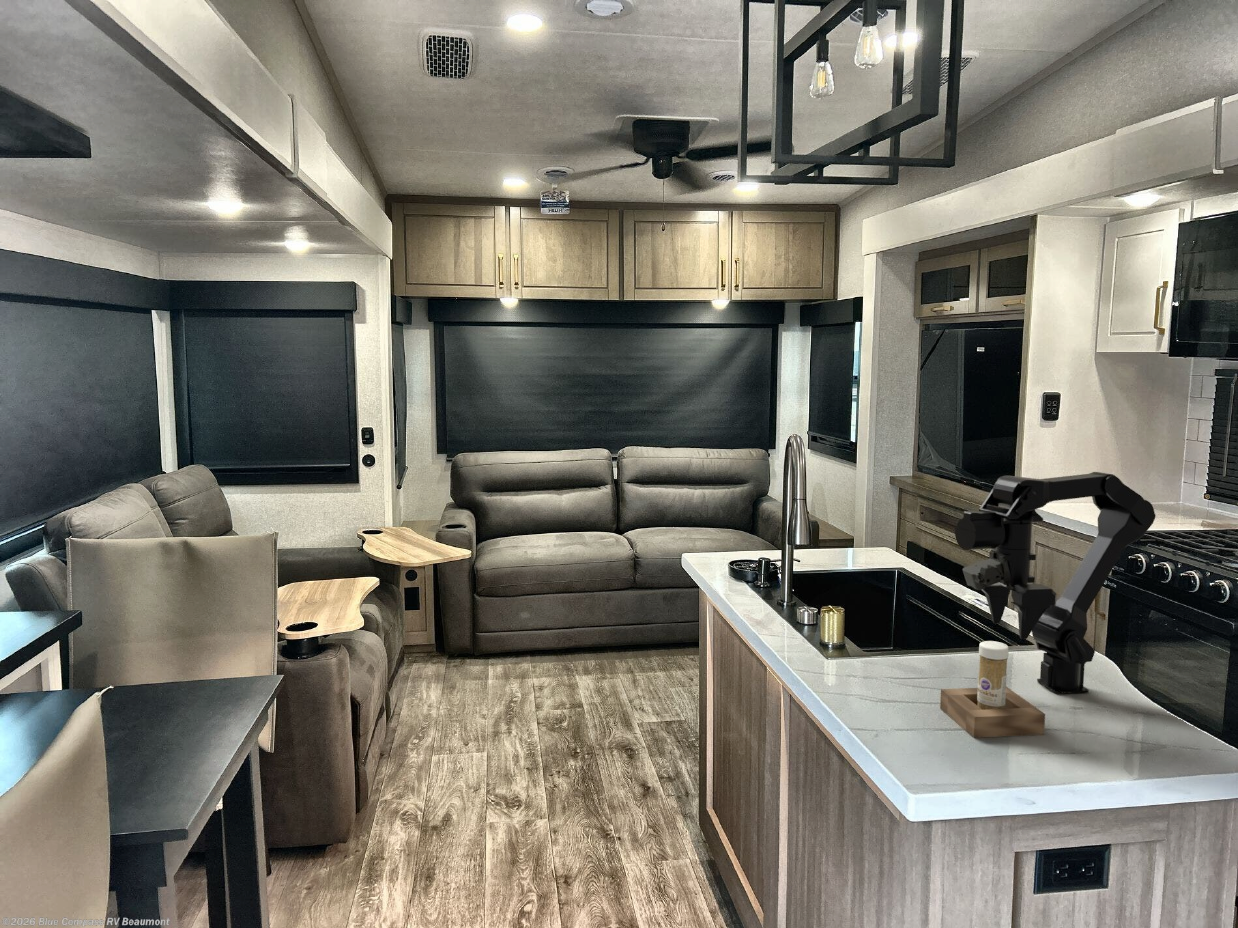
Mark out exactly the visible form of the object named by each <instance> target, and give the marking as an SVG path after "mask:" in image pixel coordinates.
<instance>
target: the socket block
mask: <svg viewBox="0 0 1238 928" xmlns="http://www.w3.org/2000/svg"><path fill="white" fill-rule="evenodd" d="M977 694H978V687H968V688H967V687H964V688H962V687H961V688H941V689H940V700H939V701H940V705H939V709H940V710H941V711H942V712H944V713H945V714H946V715H947V716H948V717H950V719H952V720H953V721H954V722H955V723H956V724H957V725H959V726H960V727H961V728H962V729H963V730H964V731H965V732H967V734H969V735H970V736H971V737H973V738H997V737H998V738H999V737H1015V736H1016V737H1017V736H1018V737H1020V736H1037V735H1039V736H1041V735H1045V728H1046V727H1045V726H1046V713H1044V711H1042V710H1041V709H1039V708H1037V707H1036V706H1034V705H1033V704H1032V703H1030V702H1029V700H1026V699H1025V698H1024V697H1022V696H1020V695H1019V694H1018V693H1017V692H1015V691H1013V690H1012V689H1011V688H1009V687H1008V686H1006V699H1005V709H988V710H982V709H981V708H979V707H978V705H977V704H978V700H977Z"/></svg>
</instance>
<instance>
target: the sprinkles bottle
mask: <svg viewBox="0 0 1238 928" xmlns="http://www.w3.org/2000/svg"><path fill="white" fill-rule="evenodd" d="M978 654H979V668H978V669H979V670H978V681H977V688H978V694H977V700H978V704H977V705H978V707H979V708H981V709H982V710H988V709H1005V699H1006V687H1007V676H1008V675H1007V667H1008V666H1007V665H1008V659H1009V646H1008V645H1007V644H1006V643H1003V642H999V641H994V640H985V641H981V642H980V643H979V646H978Z"/></svg>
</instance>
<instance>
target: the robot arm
mask: <svg viewBox="0 0 1238 928" xmlns="http://www.w3.org/2000/svg"><path fill="white" fill-rule="evenodd" d="M1090 497H1091V499H1092V501H1093V504H1094V505H1095V506H1096V508H1097V509H1098V510H1099V514H1098V516H1097V535H1096V537H1095V539H1094V540H1093V542H1092V544H1091V545H1090V547H1089V549H1088V550H1087V552H1086V554H1085V556H1084V557H1083V559H1082V561H1081V562H1080V564H1079V565H1078V567H1077V569H1076V570H1075V572H1074V574H1073V575H1072V577H1071V579H1070V581H1069V582H1068V583H1067V586H1066V587H1065V589H1064V591H1063V592H1062V594H1061V596H1060V598H1057V593H1056V592H1055V590H1053V589H1052V588H1050V587H1048V586H1047V585H1044V584H1042V583H1035V582H1036V581H1035V579H1036V578H1035V576H1032V575H1031V561H1036V556H1037V554H1035V553H1033V552H1032V534H1033V523H1041V522H1043V521H1044V517H1043V516H1041V515H1040V514H1039V513H1038V512H1037V511H1036V510H1038V509H1041V508H1043V507H1045V506H1046V505H1047V504H1048V503H1051V502H1057V501H1063V500H1065V501H1066V500H1073V499H1081V498H1090ZM1155 519H1156V513H1155V509H1154V507H1153V504H1152V503H1151V502H1150V501H1149V500H1146V499H1145V498H1144V497H1143V496H1142V495H1140V494H1139V493H1137V492H1136V491H1135V490H1133V489H1132V488H1130V487H1129V486H1127V485H1126V484H1124V483H1123V481H1122V480H1121V479H1120V478H1119V477H1118V476H1116V475H1115V474H1111V473H1106V472H1101V471H1100V472H1099V471H1092V472H1091V473H1085V474H1076V475H1066V476H1056V477H1049V478H1048V477H1046V478H1032V477H1023V476H1014V475H1002V476H1000V477H998V478H997V480H996V481H995V483H994V485H993V488H992V489H991V490H990V492H989V494H988V495H987V496H986V498H985V500H984V501H983V502H982V504H981V506H980V507H979V508H978V511H971V510H966V511H963V516H962V518H961V519H959V521H958V523H957V524H956V527H955V528H954V537H955V540H956V543H957V544H958V547H960V549H962V550H963V551H971V550H975V551H976V550H986V549H988V550H990V551H989V553H988V554H989V557H988V558H987V559H983V560H978V561H977V562H974V563H972V564H969V565H966V566H964V567H963V568H962V573H963V575H964V579H965V583H966V585H967V586H969V587H972V588H973V589H975V590H976V591H982V592H983V593H984V595H985V598H986V602H987V606H988V609H989V612H990V615H991V619H992V623H993V624H1000V623H1001V620H1002V617H1003V615H1004V612H1005V608H1006V605H1007V603H1008V599H1009V597H1010V595H1011V598H1012V601H1010V605H1012V606H1013V607H1014V608H1015V610H1016V611H1017V618H1018V622H1017V623H1018V633H1019V638H1020V639H1021V640H1027V639H1028V637H1029V636H1030V634H1031V635H1032V637H1033V639H1034V640H1035V645H1036V647H1037V650H1039V651H1043V656H1042V657H1043V658H1042V661H1041V662H1040V671H1039V672H1040V674H1039V675H1040V676H1039V678H1037V680H1036V681H1037V683H1039V684H1041V685H1042V686H1044V687H1045V688H1047V689H1048V690H1049V691H1051V692H1053V693H1054V694H1058V695H1059V694H1079V693H1081V694H1082V693H1089V692H1090V691H1089V688H1088V687H1086V686H1084V683H1085V682H1084V681H1085V666H1086V663H1090V662H1092V661H1093V659H1094V655H1095V653H1096V650H1095V648H1094V647H1092V646H1091V645H1090V643H1089V642H1088V641H1087V640H1086V639H1085V635H1086V634H1087V631H1088V617H1087V613H1088V611H1089V609H1090V608H1091V606H1092V604H1093V603H1094V601H1095V599H1096V598H1097V596H1098V594H1099V592H1100V591H1101V590H1102V587H1103V585H1104V584H1105V583H1106V580H1107V579H1108V577H1109V575H1110V574H1111V572H1112V571H1113V568H1114V567H1115V566H1116V564H1117V562H1118V561H1119V559H1120V557H1121V556H1122V555H1123V552H1124V550H1126V549H1125V548H1127V547H1128V546H1129V545H1130V544H1132V543H1134V542H1136V541H1137V540H1139V539H1141V538H1143V536H1144V535H1145V534H1146V533H1147V532H1148V530H1149V529H1150V528H1151V527H1152V525H1153V524H1154V521H1155ZM1010 593H1011V594H1010Z"/></svg>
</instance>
